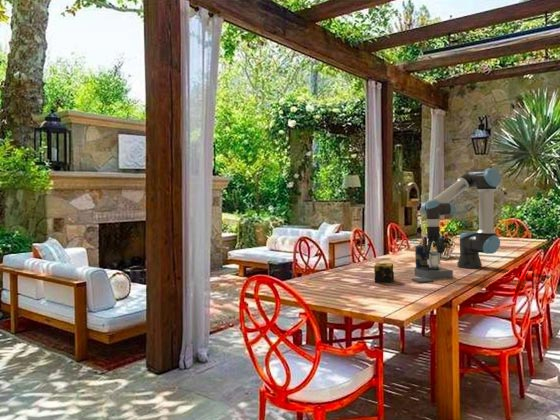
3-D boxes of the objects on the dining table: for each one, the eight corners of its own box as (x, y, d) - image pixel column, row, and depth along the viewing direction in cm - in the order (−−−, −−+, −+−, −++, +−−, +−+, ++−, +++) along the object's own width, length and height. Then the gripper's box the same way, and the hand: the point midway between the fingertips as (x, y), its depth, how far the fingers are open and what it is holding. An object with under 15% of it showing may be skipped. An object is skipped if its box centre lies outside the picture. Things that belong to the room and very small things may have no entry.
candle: (394, 280, 283) (393, 263, 282) (392, 283, 273) (392, 265, 273) (376, 279, 286) (376, 262, 286) (374, 282, 276) (373, 265, 276)
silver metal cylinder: (435, 271, 292) (435, 250, 292) (440, 273, 287) (440, 251, 286) (427, 272, 291) (426, 251, 291) (432, 274, 286) (431, 252, 285)
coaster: (425, 279, 282) (425, 277, 282) (433, 281, 273) (433, 280, 273) (411, 280, 280) (411, 278, 280) (419, 283, 271) (419, 281, 271)
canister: (432, 273, 298) (431, 245, 298) (416, 273, 300) (415, 245, 300) (430, 271, 308) (429, 243, 307) (415, 271, 310) (414, 243, 309)
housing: (437, 273, 299) (437, 266, 298) (452, 277, 283) (452, 270, 283) (414, 275, 295) (414, 268, 295) (428, 279, 279) (428, 272, 279)
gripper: (443, 224, 294) (444, 262, 295) (415, 226, 289) (416, 264, 290) (450, 225, 286) (451, 264, 287) (422, 227, 282) (423, 266, 283)
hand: (433, 264), depth 289 cm, fingers closed on silver metal cylinder, 6 cm apart
